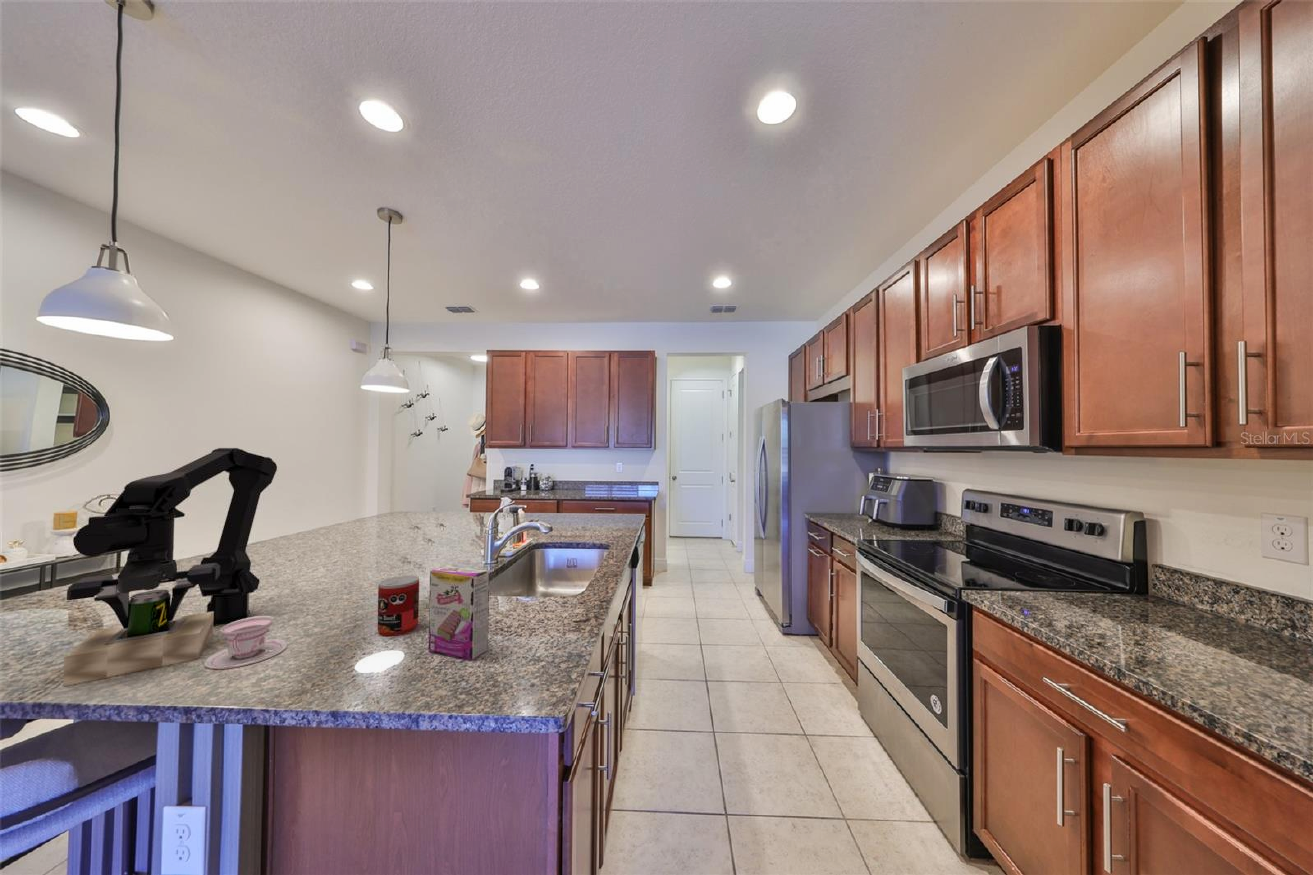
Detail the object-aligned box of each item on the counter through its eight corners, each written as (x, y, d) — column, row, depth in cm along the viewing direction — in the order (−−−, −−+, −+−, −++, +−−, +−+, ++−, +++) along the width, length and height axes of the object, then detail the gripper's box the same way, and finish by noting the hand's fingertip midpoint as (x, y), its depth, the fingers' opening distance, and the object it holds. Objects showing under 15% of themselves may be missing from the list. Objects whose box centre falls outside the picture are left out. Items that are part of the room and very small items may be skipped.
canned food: (369, 633, 95) (370, 583, 95) (402, 620, 102) (403, 573, 103) (393, 639, 92) (394, 587, 92) (425, 625, 99) (426, 577, 100)
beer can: (120, 665, 80) (122, 600, 80) (133, 653, 85) (136, 592, 85) (162, 657, 83) (164, 595, 83) (173, 646, 88) (175, 587, 88)
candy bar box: (426, 653, 86) (428, 570, 86) (446, 642, 90) (447, 564, 91) (471, 662, 82) (472, 575, 83) (489, 651, 87) (490, 569, 87)
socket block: (213, 634, 94) (213, 609, 94) (198, 658, 83) (199, 631, 83) (97, 655, 84) (98, 628, 84) (63, 686, 73) (64, 655, 73)
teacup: (225, 647, 88) (226, 617, 88) (297, 638, 93) (298, 609, 93) (188, 676, 77) (189, 641, 77) (272, 663, 82) (273, 630, 82)
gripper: (53, 559, 72) (49, 653, 72) (211, 544, 84) (208, 625, 83) (82, 547, 81) (79, 631, 81) (221, 535, 93) (219, 608, 92)
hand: (149, 624), depth 84 cm, fingers closed on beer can, 5 cm apart
